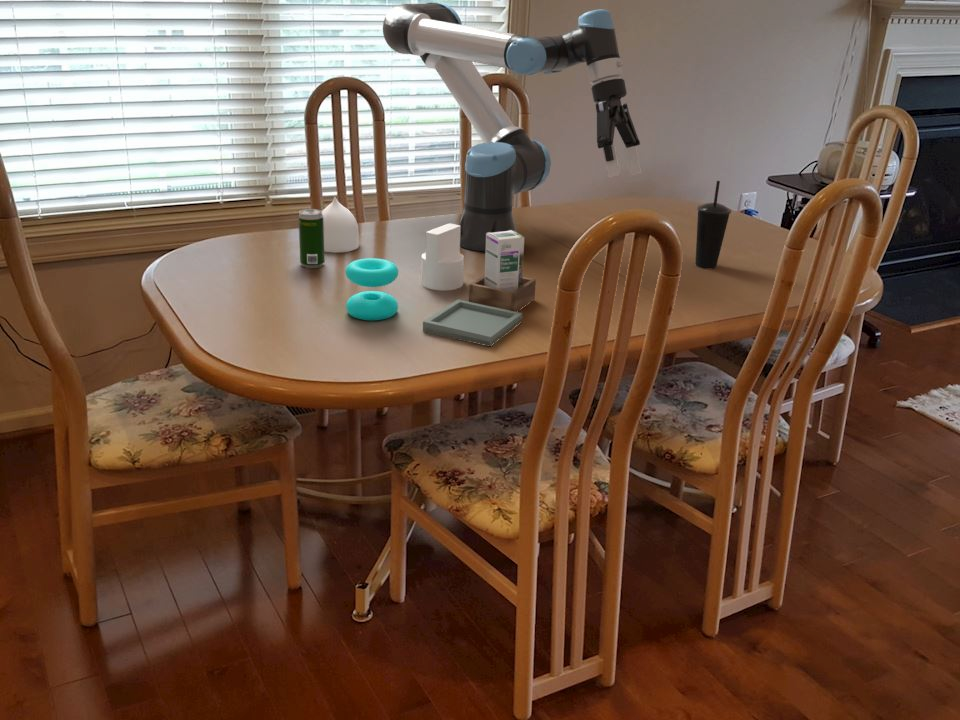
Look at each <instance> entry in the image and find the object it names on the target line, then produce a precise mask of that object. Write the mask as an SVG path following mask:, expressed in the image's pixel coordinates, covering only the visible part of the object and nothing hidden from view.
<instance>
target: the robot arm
mask: <svg viewBox="0 0 960 720" xmlns="http://www.w3.org/2000/svg"><path fill="white" fill-rule="evenodd" d="M382 23H383V24H382V35H383V38H384V41H385V42H386V45H388V47H390V48H391V49H392V50H393V51H394V52H396V53H399V54H401V55H402V54H403V55H413V56H418V57H419V58H420V59H421V60H422V62H423V63H424V65H425V66H426V67H427V68H429V69H434V70H435V71H436V72H437V74H438V75H439V76H440V78H441V80H442V81H443V83H444V84H445V86H446V87H447V89H448V90H449V92H450V93H451V95H452V96H453V98H454V100H455V101H456V103H457V104H458V106H459V107H460V108H461V110H462V112H463V114H464V115H465V116H466V118H467V120H468V121H469V123H470V125H472V127H473V128H474V130H475V132H476V133H477V134H478V135H477V136H479V137H480V140H482V142H483V143H479V144H475V145H473V146H472V147H470V148H469V149H468V151H467V152H466V154H465V155H466V157H465V164H464V196H463V197H464V198H463V199H464V200H463V202H464V205H463V212H462V215H461V218H460V221H459V223H458V225H460V226H461V228H460V248H464V249H467V250H471V251H478V252H486V233H493V232H502V231H509V230H512V231H514V232H517V233H518V231H517V230H518V229H517V228H516V224H515V220H514V217H513V216H514V215H513V205H514V204H513V201H514V200H513V199H514V195H517V194H520V193H523V192H527V191H531V190H534V189H535V188H537V187H539V186H541V185H542V184H544V182H545V181H546V180H547V179H548V177H549V175H550V170H551V165H552V164H551V163H552V162H551V155H550V152H549V151H548V149H547V147H546V146H545V145H544V144H543V143H542V142H540V141H537V140H535V139H534V140H533V139H531V138H530V136H529V134H528V133H527V132H526V130H525V129H524V128H523V127H520V126H515V125H514V123H513V122H512V121H511V119H510V117H509V116H508V114H507V113H506V111H505V110H504V108H503V106H502V105H501V103H500V102H499V101H498V99H497V98H496V96H495V94H494V93H493V92H492V90H491V89H490V87H489V85H488V84H487V82H486V81H485V80H484V78H483V76H482V75H481V73H480V72H479V70H478V69H477V67H476V66H475V65H474V63H477V64H483V65H488V66H494V67H499V68H502V69H503V68H504V69H508V70H512V72H513V73H516V74H517V75H521V76H522V75H526V76H532V75H535V74H541V73H543V74H545V75H552V74H556V73H560V72H562V71H563V70H566V69H569V68H571V67H574V66H577V65H579V64H581V63H586V69H587V74H588V79H589V84H590V85H592V86H591V93H592V98H593V102H594V103H595V110H596V143H597V148H598V149H602V152H603V158H604V163H605V168H606V172H607V177H608V178H613V177H616V176H620V175H622V173H621V169H620V162H619V159H618V153H617V147H616V145H614V136H615V131H616V130H617V131H618V134H619V136H620V138H621V140H622V143H623V144H624V146H625V148H624V153H625V158H626V159H625V160H626V164H627V169H628V175H629V177H634V176H638V175H642V169H641V168H642V167H641V163H640V162H641V161H640V158H639V153H638V147H637V146H640V145H641V141H640V140H639V137H638V134H637V131H636V128H635V125H634V122H633V119H632V117H631V115H630V111H629V107H628V103H622V101H621V99H622V98H624V97H626V96H627V93H628V92H627V87H626V82H625V79H623V78H622V77H623V76H624V74H623V68H622V66H623V65H624V62H623V61H621V58H620V57H621V56H620V52H619V49H618V48H619V46H618V41H617V35H616V27H615V25H614V21H613V17H612V14H611V12H610V11H609V10H607V9H604V8H603V9H602V8H600V9H594V10H589V11H587V12H584V13H583V14H581V15H580V16H579V17H578V20H577V23H578V24H577V26H578V27H576V28H574V29H572V30H569V31H567V32H564V33H561V34H558V35H549V36H539V37H537V36H535V37H534V36H527V35H522V34H521V35H520V34H516V33H510V32H504V31H499V30H492V29H487V28H482V27H476V26H470V25H465V24H463V23H462V20H461V18H460V16H459V14H458V13H457V11H456V10H455V9H454V8H452V7H451V6H449V5H447V4H445V3H439V2H435V1H434V2H433V1H431V2H426V3H402V4H401V3H400V4H398V5H396V6H394V7H393V8H391V9H389V11H388V12H387V14H386V15H385V17H384V20H383V22H382ZM615 128H616V130H615Z"/></svg>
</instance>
